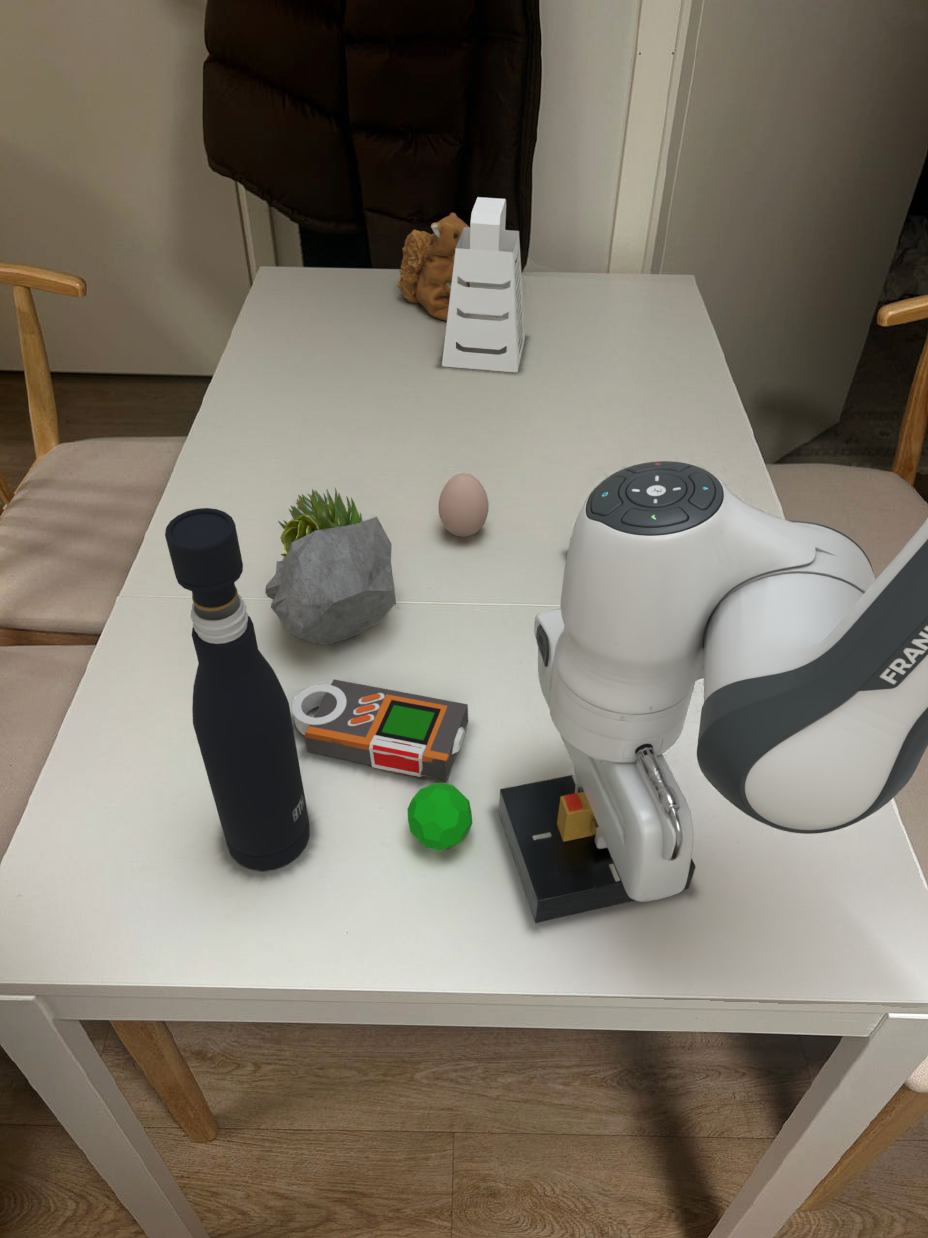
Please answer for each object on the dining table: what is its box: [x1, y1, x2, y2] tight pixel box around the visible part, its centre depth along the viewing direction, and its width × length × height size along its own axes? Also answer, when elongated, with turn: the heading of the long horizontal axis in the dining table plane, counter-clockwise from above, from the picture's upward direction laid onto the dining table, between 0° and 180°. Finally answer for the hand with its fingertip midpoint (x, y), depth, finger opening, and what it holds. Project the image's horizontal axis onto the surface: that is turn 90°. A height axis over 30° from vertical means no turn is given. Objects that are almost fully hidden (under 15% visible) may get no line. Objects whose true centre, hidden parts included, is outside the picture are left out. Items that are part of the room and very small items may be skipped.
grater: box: [441, 196, 526, 373], centre depth 125 cm, size 10×10×20 cm
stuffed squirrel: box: [396, 212, 471, 322], centre depth 139 cm, size 10×14×13 cm
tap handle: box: [557, 792, 595, 842], centre depth 69 cm, size 6×2×4 cm, turn 104°
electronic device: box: [291, 679, 469, 781], centre depth 79 cm, size 7×3×15 cm
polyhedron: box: [407, 782, 473, 851], centre depth 71 cm, size 5×5×5 cm
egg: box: [437, 472, 489, 538], centre depth 99 cm, size 5×5×7 cm
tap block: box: [498, 774, 697, 924], centre depth 71 cm, size 12×10×3 cm
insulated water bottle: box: [164, 507, 311, 872], centre depth 62 cm, size 6×6×30 cm
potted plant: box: [264, 487, 397, 646], centre depth 88 cm, size 12×13×15 cm
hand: (596, 819), depth 70 cm, fingers closed
